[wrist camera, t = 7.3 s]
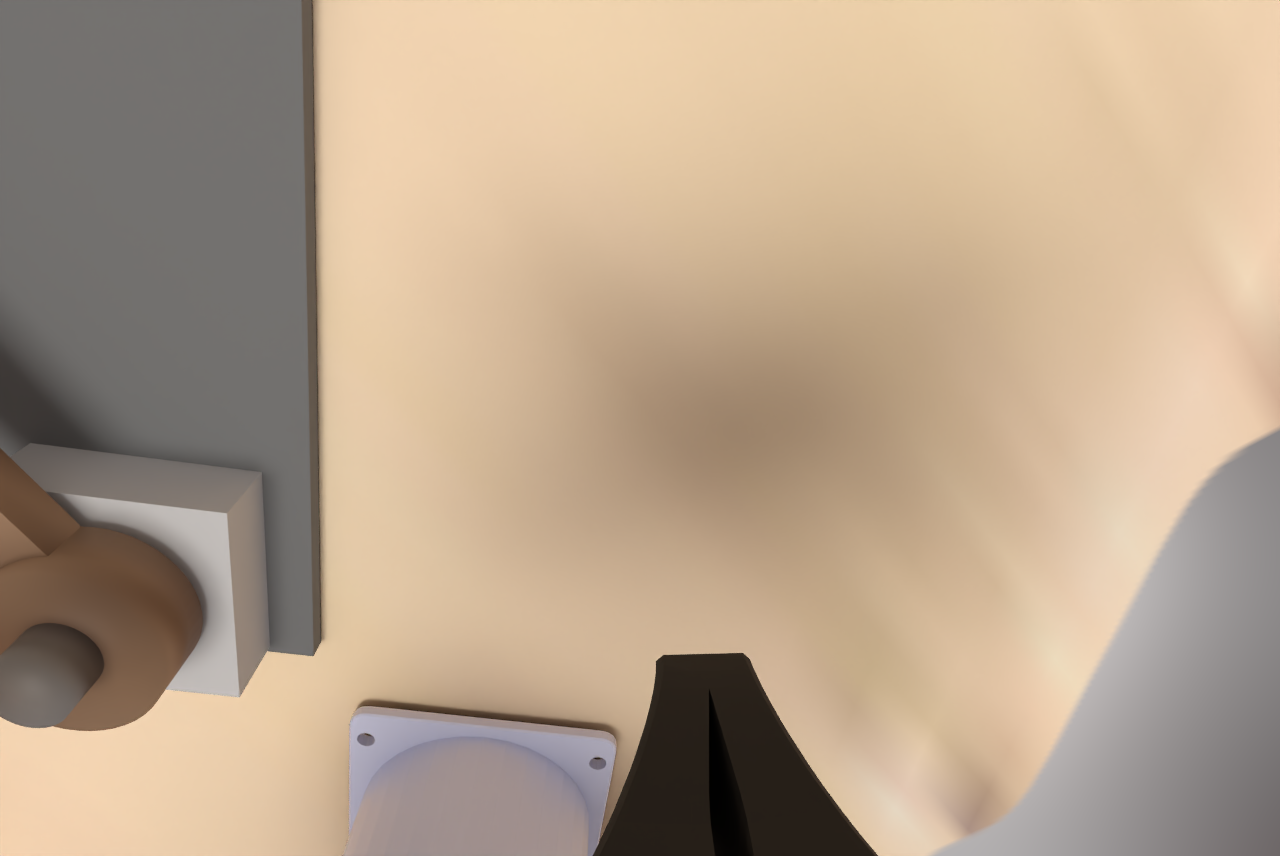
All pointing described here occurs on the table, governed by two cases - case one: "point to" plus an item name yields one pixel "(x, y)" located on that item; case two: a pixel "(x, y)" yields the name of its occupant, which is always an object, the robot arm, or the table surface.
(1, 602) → the lever
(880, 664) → the table surface
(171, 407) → the plate
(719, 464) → the table surface
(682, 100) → the table surface
